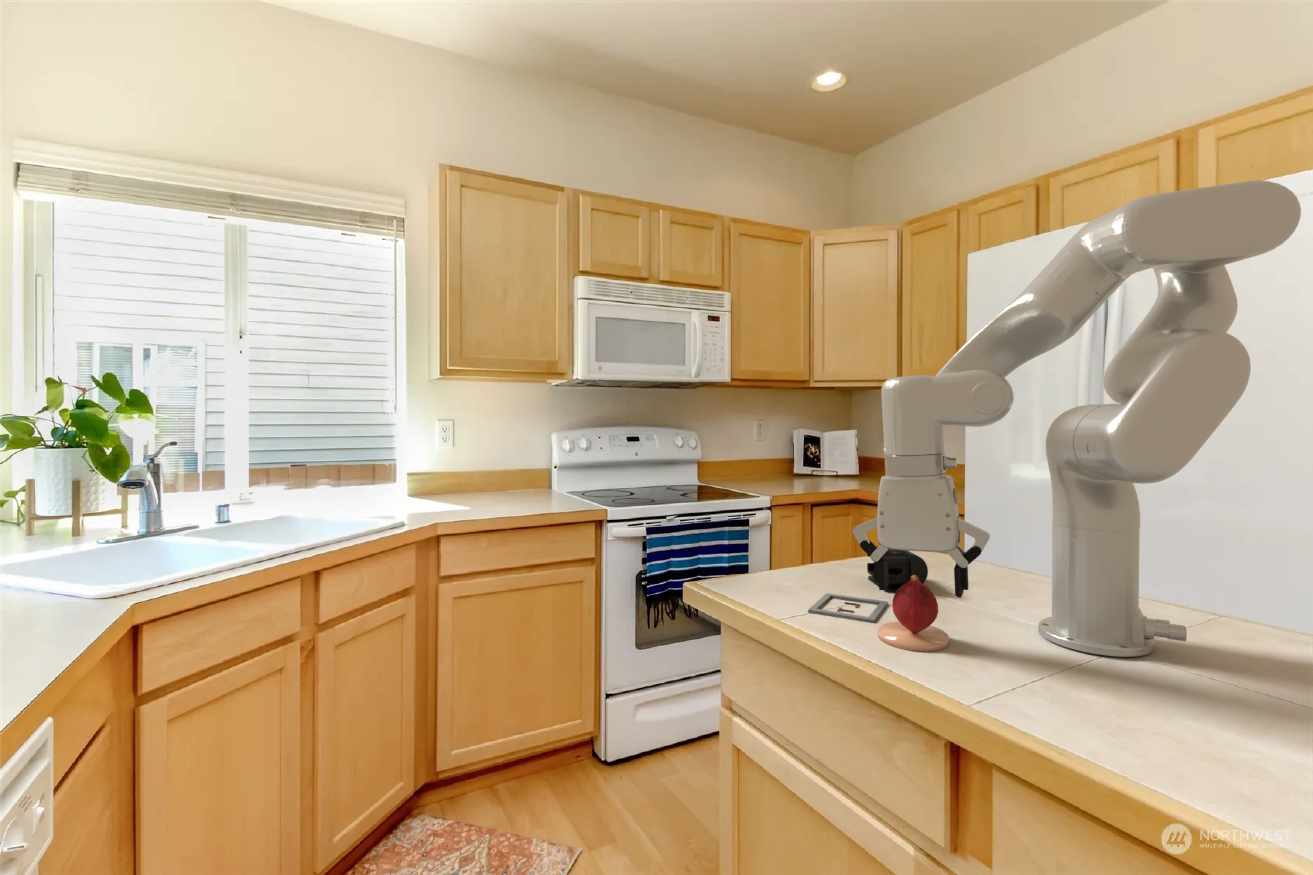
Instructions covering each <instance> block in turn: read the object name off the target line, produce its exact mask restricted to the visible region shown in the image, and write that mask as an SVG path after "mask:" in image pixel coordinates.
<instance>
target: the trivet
mask: <svg viewBox="0 0 1313 875" xmlns="http://www.w3.org/2000/svg"><path fill="white" fill-rule="evenodd" d="M877 637H878V638H879V640H880V641H881V642H882V643H884V644H887V645H889V646H892V647H895V648H898V649H901V650H905V651H906V650H907V651H911V652H912V651H914V652H935V651H936V652H937V651H941V650H943V649H946V648H947V647H948V646H949V645H950V638H949V637H950V636H949V634H948V633H947V632H946V631H945V630H942V629H941V628H938V627H935V626H933V625H930V626H929V627H927V628H926V629H924V630H922V631H920V632H919V633H912V632H910V631H909V630H908V629H907V628H905V627H904V626H903V625H902V624H901V623H900V622H899V621H892V622H886V623H883V624H881V625H879V626H878V628H877Z"/></svg>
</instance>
